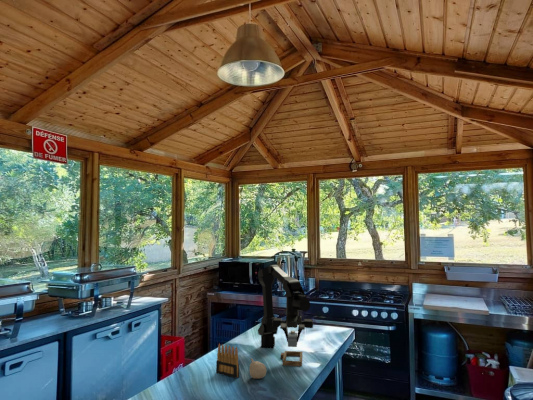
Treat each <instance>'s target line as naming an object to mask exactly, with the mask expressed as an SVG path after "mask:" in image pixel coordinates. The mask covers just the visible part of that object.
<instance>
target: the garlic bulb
mask: <svg viewBox="0 0 533 400" xmlns="http://www.w3.org/2000/svg"><path fill="white" fill-rule="evenodd" d="M250 360H251V363H250V364H249V375H250V377H251V378H252V379H256V380H257V379H259V380H260V379H263V378H264V377H266V376H267V375H266V374H267V366H266V365H265V364H264V363H262V362H260V361H255V360H254V359H253V358H250Z"/></svg>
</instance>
